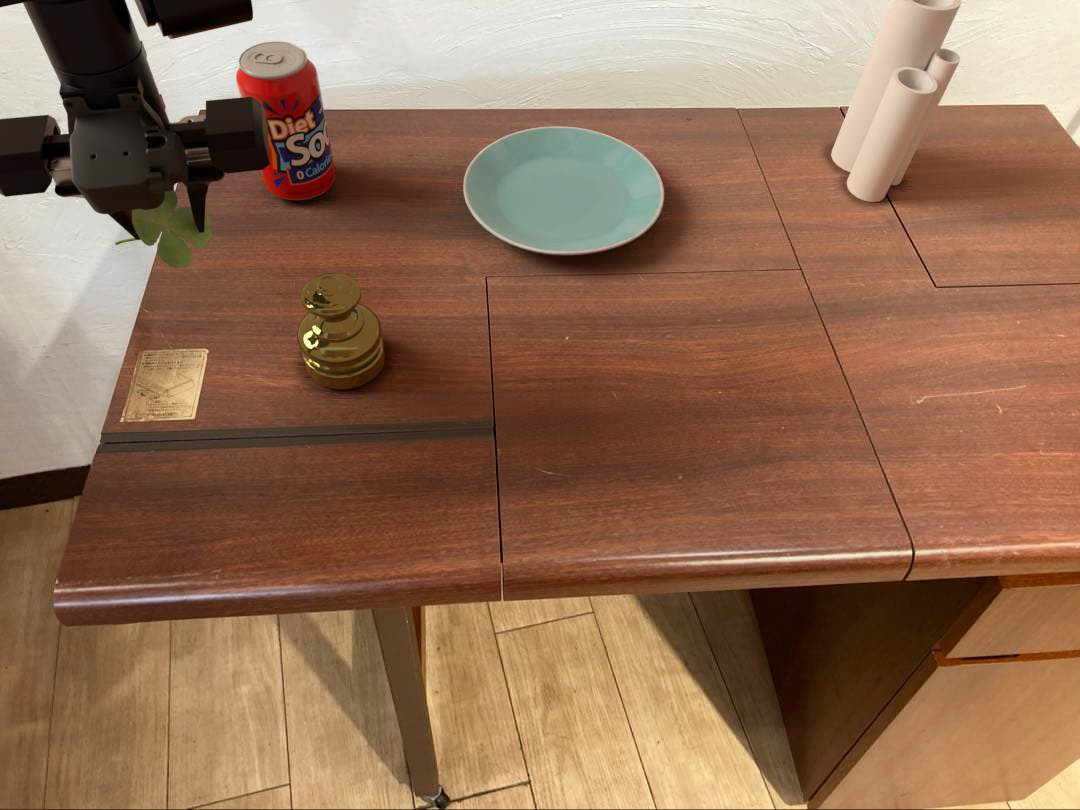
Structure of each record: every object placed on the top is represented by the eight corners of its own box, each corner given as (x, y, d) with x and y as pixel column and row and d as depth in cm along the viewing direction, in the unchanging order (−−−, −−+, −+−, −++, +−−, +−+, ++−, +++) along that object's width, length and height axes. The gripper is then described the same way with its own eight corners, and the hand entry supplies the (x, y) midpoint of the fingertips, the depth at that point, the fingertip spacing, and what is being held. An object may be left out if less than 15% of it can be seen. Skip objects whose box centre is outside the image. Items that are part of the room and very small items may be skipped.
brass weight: (341, 320, 79) (324, 242, 71) (402, 353, 77) (391, 276, 69) (288, 368, 75) (264, 291, 67) (350, 404, 73) (333, 329, 65)
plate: (430, 238, 86) (428, 218, 84) (507, 127, 99) (507, 106, 97) (628, 297, 83) (631, 277, 80) (681, 173, 95) (686, 153, 93)
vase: (822, 144, 100) (885, -21, 84) (877, 141, 101) (949, -22, 85) (856, 202, 94) (930, 36, 78) (914, 200, 95) (1000, 34, 79)
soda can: (277, 159, 93) (246, 33, 81) (344, 166, 93) (323, 41, 81) (256, 202, 88) (219, 75, 77) (327, 210, 88) (301, 83, 76)
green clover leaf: (173, 286, 71) (226, 265, 68) (89, 289, 63) (144, 265, 60) (150, 206, 70) (202, 181, 67) (63, 200, 63) (117, 171, 60)
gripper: (-86, 138, 47) (35, 320, 60) (244, 107, 51) (293, 286, 63) (-50, 38, 54) (52, 222, 66) (241, 17, 57) (286, 196, 69)
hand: (171, 233), depth 66 cm, fingers closed on green clover leaf, 4 cm apart
